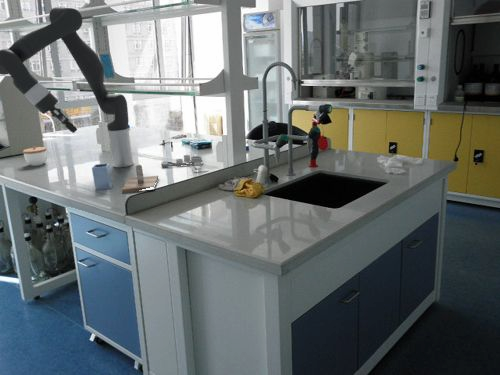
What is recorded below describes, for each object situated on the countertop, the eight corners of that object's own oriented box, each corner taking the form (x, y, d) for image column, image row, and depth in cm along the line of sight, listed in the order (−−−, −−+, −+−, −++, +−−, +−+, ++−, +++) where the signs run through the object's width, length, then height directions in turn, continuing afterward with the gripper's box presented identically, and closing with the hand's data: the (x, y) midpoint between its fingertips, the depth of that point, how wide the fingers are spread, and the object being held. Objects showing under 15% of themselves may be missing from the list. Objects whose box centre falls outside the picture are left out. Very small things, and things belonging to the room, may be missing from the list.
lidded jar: (52, 161, 237) (49, 143, 234) (43, 166, 227) (39, 147, 224) (32, 162, 238) (28, 144, 235) (21, 167, 227) (17, 149, 225)
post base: (129, 181, 190) (126, 160, 188) (158, 179, 191) (156, 158, 188) (122, 193, 175) (119, 170, 173) (154, 190, 176) (151, 168, 173)
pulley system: (180, 161, 223) (156, 167, 211) (179, 152, 222) (155, 157, 210) (223, 169, 207) (200, 176, 195) (223, 159, 206) (200, 165, 194)
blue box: (98, 185, 187) (95, 164, 184) (112, 184, 187) (109, 163, 184) (95, 189, 181) (91, 167, 179) (109, 188, 182) (106, 166, 179)
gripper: (49, 90, 163) (83, 124, 170) (48, 91, 176) (80, 123, 183) (33, 104, 162) (68, 138, 168) (33, 105, 175) (65, 136, 181)
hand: (74, 130), depth 176 cm, fingers open, 8 cm apart
